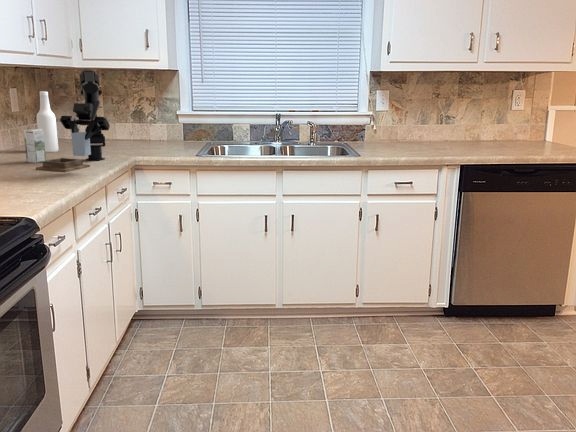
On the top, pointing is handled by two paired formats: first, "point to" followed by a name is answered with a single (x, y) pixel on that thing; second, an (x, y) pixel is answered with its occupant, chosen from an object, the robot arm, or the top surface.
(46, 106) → the alcohol
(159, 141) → the top surface
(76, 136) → the block
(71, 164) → the cradle
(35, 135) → the syrup box
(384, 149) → the top surface
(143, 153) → the top surface
